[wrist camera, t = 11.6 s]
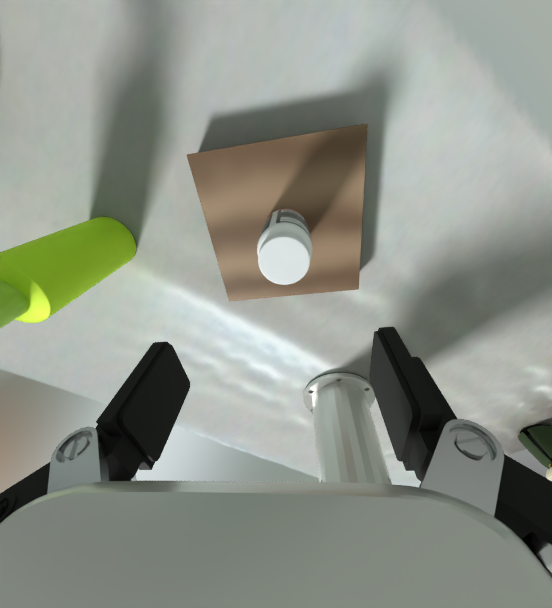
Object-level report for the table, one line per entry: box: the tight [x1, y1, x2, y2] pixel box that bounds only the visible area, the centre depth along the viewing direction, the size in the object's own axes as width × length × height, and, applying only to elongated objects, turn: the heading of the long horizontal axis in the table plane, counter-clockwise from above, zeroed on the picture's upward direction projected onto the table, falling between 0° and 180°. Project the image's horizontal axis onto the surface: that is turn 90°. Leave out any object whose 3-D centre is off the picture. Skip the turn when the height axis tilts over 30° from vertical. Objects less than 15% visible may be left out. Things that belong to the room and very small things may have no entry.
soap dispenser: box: [0, 217, 136, 328], centre depth 22 cm, size 6×7×20 cm
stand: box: [187, 124, 367, 301], centre depth 26 cm, size 16×16×3 cm
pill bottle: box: [257, 209, 312, 285], centre depth 22 cm, size 5×5×8 cm
